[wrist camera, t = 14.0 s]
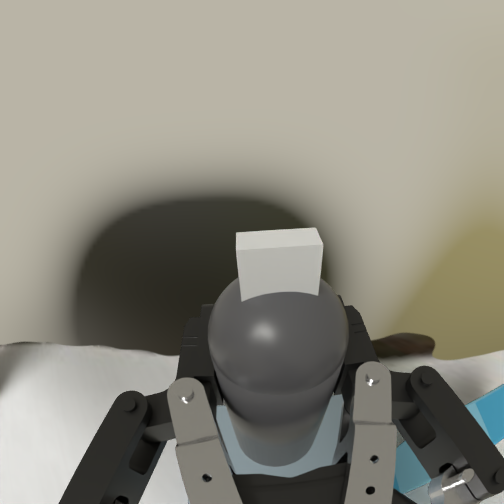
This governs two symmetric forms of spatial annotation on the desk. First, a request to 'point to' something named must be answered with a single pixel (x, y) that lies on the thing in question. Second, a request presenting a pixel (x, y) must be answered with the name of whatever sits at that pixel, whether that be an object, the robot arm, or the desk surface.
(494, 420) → the data package
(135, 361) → the desk surface
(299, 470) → the plate
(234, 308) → the dark grey bottle
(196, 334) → the robot arm
